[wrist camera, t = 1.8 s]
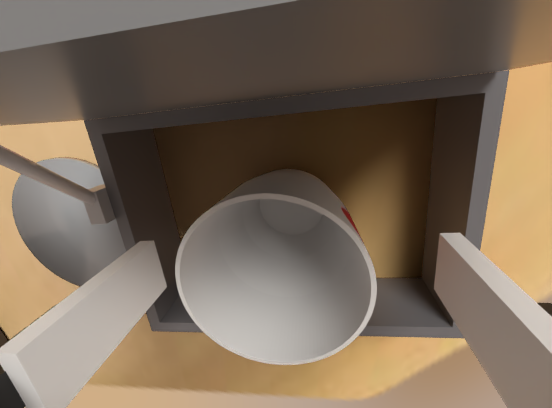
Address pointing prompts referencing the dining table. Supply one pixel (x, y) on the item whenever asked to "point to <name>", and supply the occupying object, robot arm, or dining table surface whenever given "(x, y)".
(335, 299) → the cup
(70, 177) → the slate coaster
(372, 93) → the case
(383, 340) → the dining table surface
